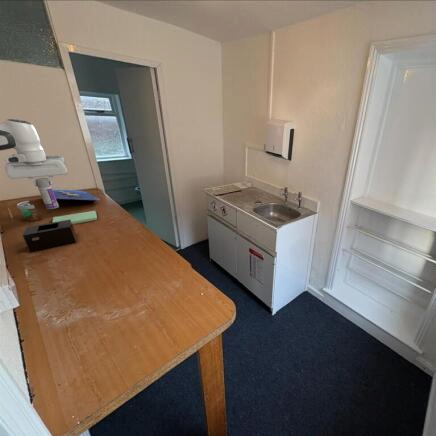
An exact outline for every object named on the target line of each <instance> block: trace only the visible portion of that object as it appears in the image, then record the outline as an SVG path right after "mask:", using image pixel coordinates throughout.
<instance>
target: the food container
mask: <svg viewBox="0 0 436 436" xmlns="http://www.w3.org/2000/svg"><path fill="white" fill-rule="evenodd" d="M16 209H17V210H19V211H20V212H21V215H22V216H23V218H24V220H25V221H26V222H35V221H40V217H39V215H38V211H37V209H36V208H35V205H34V204H32V203H31V202H30V200H25V201H21V202H18V203H17V204H16Z"/></svg>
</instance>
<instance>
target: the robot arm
mask: <svg viewBox="0 0 436 436" xmlns="http://www.w3.org/2000/svg"><path fill="white" fill-rule="evenodd" d="M11 149H14V150H15V151H16V153H14V154H12V155H7V156H6V157H4V163H6V164H5V166H4V169H5V174H6V176H7V178H9V179H11V180H15V179H28V180H29V182H31V183H32V184H33V185H34V187H38V186H37V183H36V181H35V180H34V178H44V177H47V178H48V179H49V184H50V185H51V186H53V181H52V180H53V179H54V176H65V175H67V174H68V169H67V167H66V161H65V158H64V157H62V156H59V155H49V156H48V155H46V152H45V150H44V147H42V144H41V138H40V135H39V134H38V131H37V129H36V128H35V126H34V124H33V123H31V122H30V121H27V120H22V119H14V118H9V119H8V118H7V119H5V121H3V122H1V123H0V152H1V151H7V150H11Z"/></svg>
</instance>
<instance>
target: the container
mask: <svg viewBox="0 0 436 436" xmlns="http://www.w3.org/2000/svg"><path fill="white" fill-rule="evenodd" d="M34 181H36V183H37V186H36V187H37V189H38V191H39V194H40V196H41V199H42V201H43V203H44V206H45V209H46V210H54V209H57V208H59V207H60V205H59V203H58V199H56V197H55V195H54V192H53V190H54V189H53V187H52V185H50V184H49V181H50V179H49V177H37V178H35V180H34Z"/></svg>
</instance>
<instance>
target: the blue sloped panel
mask: <svg viewBox="0 0 436 436" xmlns="http://www.w3.org/2000/svg"><path fill="white" fill-rule="evenodd" d="M53 192H54V195H55V197H56V200H81V201H101V199H100V198H99V197H97V196H95V195H92V194H90V193H89V192H86V191H83V190H74V189H53Z"/></svg>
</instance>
